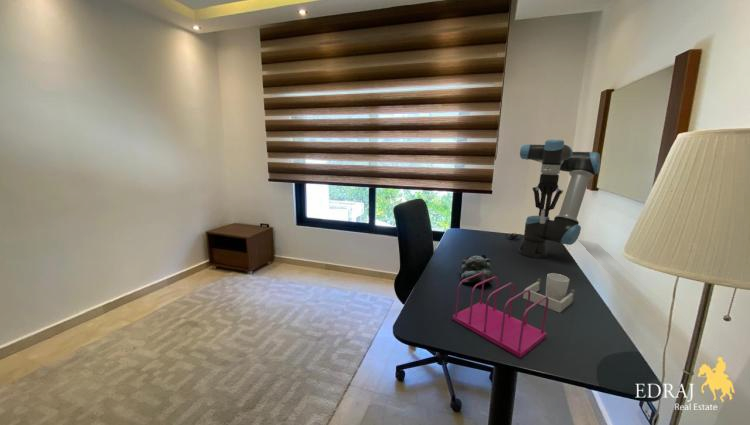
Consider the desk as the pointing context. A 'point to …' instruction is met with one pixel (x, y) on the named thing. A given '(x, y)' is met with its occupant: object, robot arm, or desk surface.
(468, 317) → the file sorter
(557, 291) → the white cup
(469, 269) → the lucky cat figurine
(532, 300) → the open u-shaped frame
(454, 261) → the desk surface
